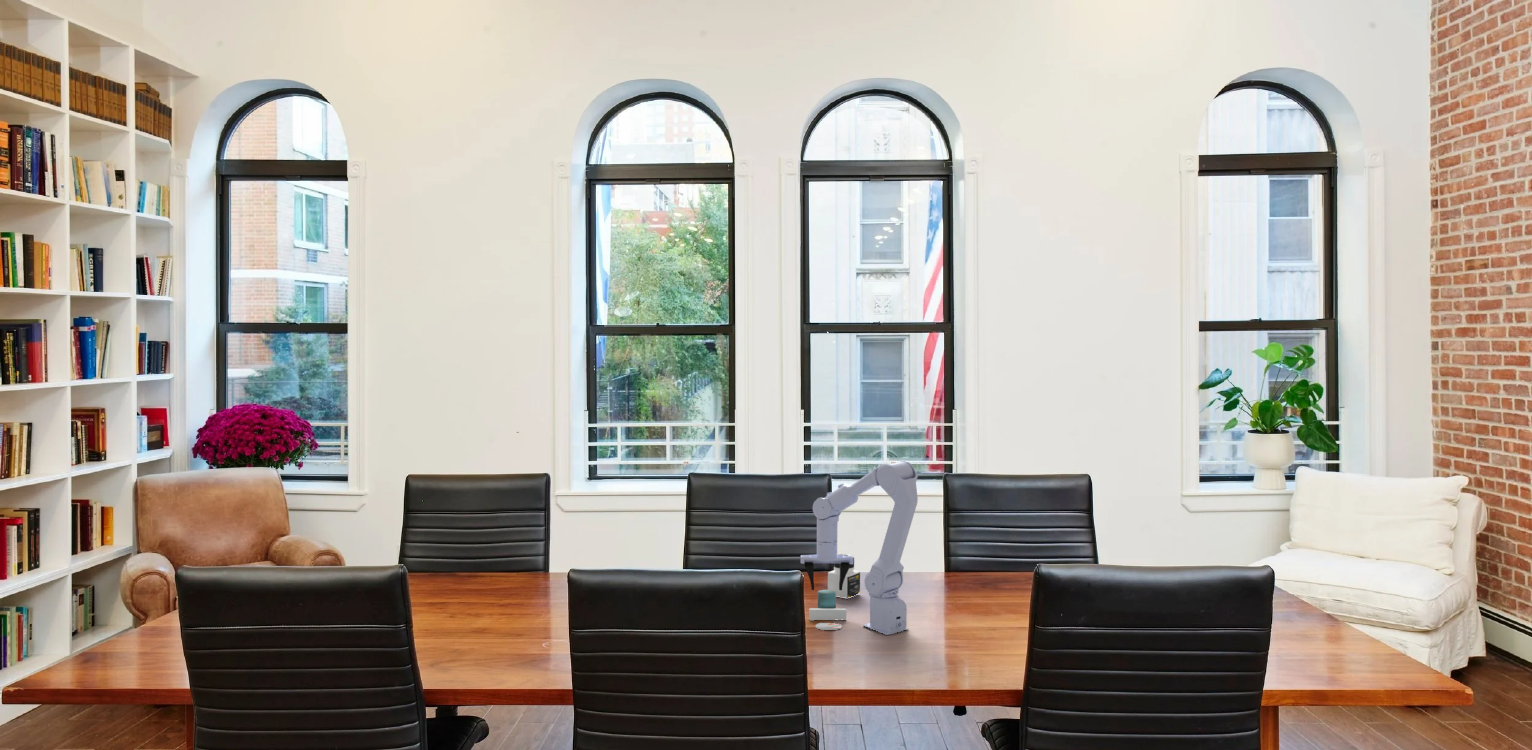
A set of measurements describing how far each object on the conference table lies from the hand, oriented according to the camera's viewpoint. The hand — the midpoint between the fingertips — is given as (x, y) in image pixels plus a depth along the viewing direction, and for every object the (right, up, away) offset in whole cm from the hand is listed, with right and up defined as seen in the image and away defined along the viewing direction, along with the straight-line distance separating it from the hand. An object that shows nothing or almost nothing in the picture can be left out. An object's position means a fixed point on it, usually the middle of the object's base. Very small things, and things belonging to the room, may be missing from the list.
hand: (826, 589), depth 252 cm
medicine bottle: (+6, -7, +19) cm, 21 cm away
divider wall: (0, -7, -6) cm, 9 cm away
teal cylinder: (0, -7, 0) cm, 7 cm away
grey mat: (0, -7, -12) cm, 14 cm away
